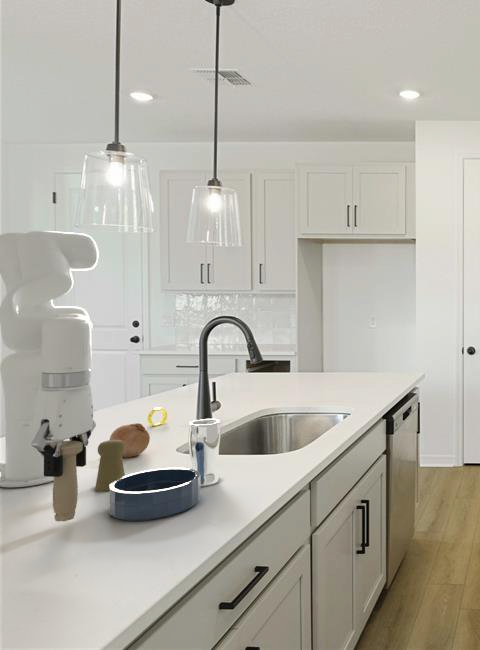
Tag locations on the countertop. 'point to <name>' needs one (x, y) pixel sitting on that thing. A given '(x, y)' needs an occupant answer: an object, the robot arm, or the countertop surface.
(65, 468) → the handle
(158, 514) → the bowl
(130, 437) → the onion
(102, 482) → the olive tapered shaker
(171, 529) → the countertop surface
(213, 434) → the beer glass
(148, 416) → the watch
